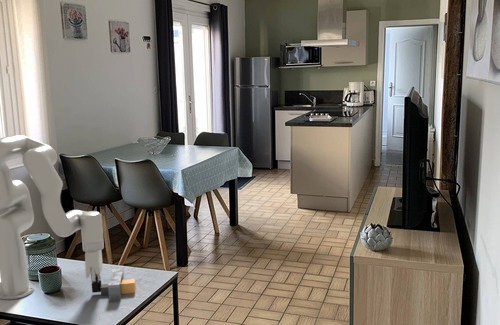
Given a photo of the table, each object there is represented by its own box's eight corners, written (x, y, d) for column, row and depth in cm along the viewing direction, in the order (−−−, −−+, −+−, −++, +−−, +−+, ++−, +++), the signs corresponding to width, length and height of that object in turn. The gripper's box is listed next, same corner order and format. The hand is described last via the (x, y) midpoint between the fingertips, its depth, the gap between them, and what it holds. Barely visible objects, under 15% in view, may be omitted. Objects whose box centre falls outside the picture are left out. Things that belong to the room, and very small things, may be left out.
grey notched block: (109, 302, 182) (107, 285, 180) (114, 284, 197) (112, 268, 196) (120, 301, 182) (119, 284, 181) (124, 283, 198) (123, 267, 197)
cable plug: (101, 295, 187) (100, 285, 186) (102, 291, 191) (101, 281, 190) (135, 292, 189) (134, 282, 188) (135, 288, 193) (135, 278, 192)
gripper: (86, 239, 192) (89, 284, 195) (78, 252, 177) (83, 301, 181) (106, 237, 193) (109, 282, 196) (100, 251, 178) (104, 299, 182)
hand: (97, 291), depth 188 cm, fingers closed
